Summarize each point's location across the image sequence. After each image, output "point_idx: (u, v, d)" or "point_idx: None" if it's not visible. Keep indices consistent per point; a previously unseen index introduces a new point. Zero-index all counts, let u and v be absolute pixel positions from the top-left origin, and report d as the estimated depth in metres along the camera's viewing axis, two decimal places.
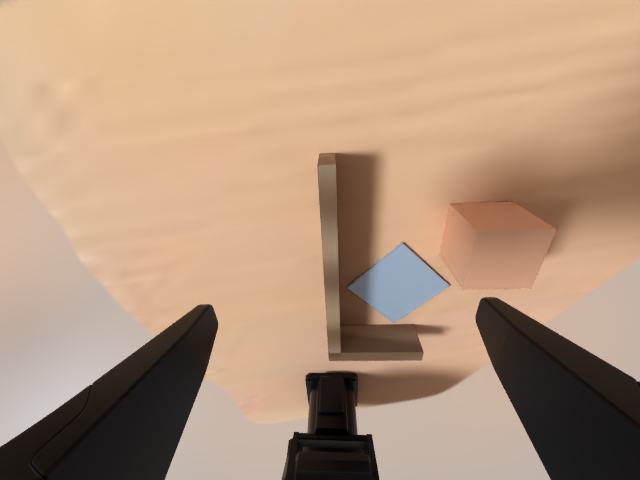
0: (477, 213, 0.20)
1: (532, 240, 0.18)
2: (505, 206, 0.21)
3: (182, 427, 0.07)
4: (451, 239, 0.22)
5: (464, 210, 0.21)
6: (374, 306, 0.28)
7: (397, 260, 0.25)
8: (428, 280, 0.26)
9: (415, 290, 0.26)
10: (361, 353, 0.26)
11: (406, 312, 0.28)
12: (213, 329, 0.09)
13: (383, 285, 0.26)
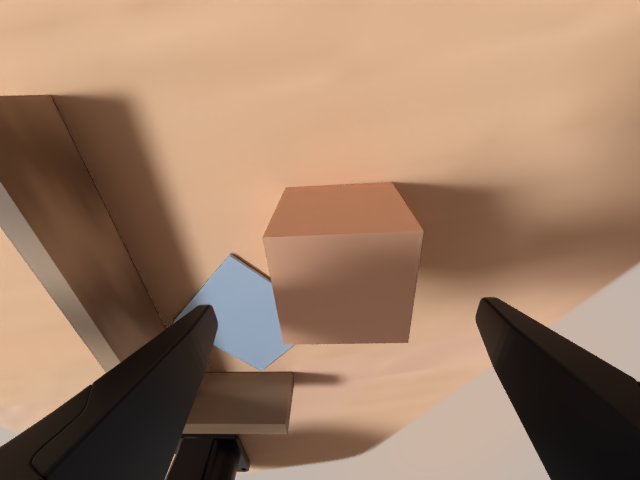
0: (308, 202, 0.11)
1: (380, 255, 0.09)
2: (370, 190, 0.12)
3: (182, 427, 0.07)
4: None
5: (294, 198, 0.11)
6: (223, 348, 0.18)
7: (231, 282, 0.15)
8: None
9: (275, 326, 0.17)
10: (192, 424, 0.17)
11: (273, 356, 0.18)
12: (213, 329, 0.09)
13: (224, 319, 0.17)
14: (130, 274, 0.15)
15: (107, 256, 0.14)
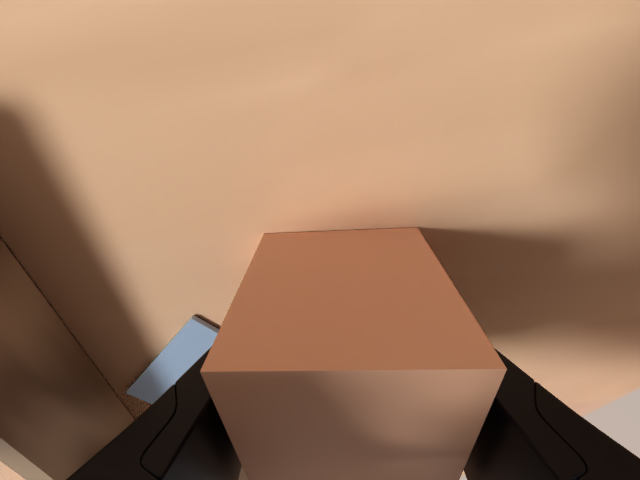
0: (294, 270, 0.07)
1: (418, 399, 0.05)
2: (389, 245, 0.08)
3: None
4: None
5: (272, 258, 0.07)
6: None
7: (196, 349, 0.12)
8: None
9: None
10: None
11: None
12: None
13: None
14: (59, 341, 0.11)
15: (17, 325, 0.10)
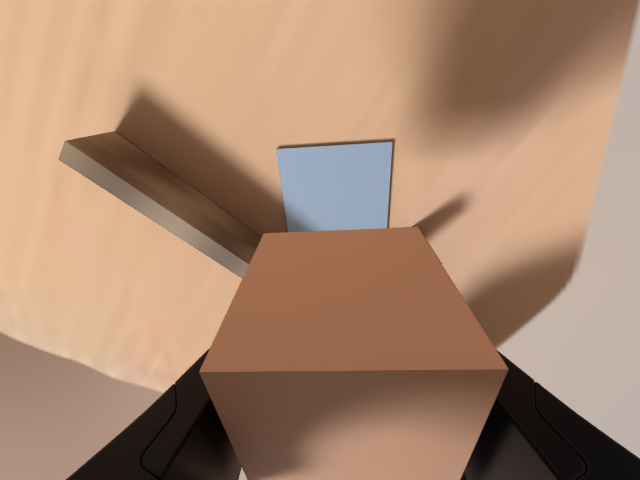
0: (294, 269, 0.07)
1: (419, 400, 0.05)
2: (389, 245, 0.08)
3: None
4: None
5: (272, 258, 0.07)
6: None
7: (296, 172, 0.17)
8: (358, 161, 0.16)
9: (359, 185, 0.17)
10: None
11: (383, 219, 0.18)
12: None
13: (319, 212, 0.18)
14: (235, 222, 0.19)
15: (210, 212, 0.17)
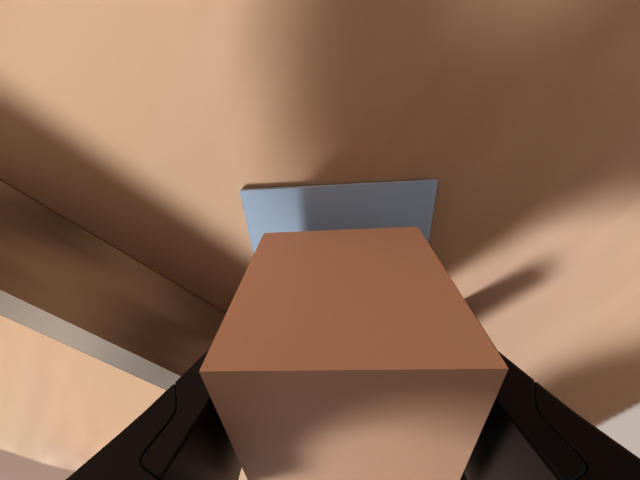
0: (294, 269, 0.07)
1: (419, 399, 0.05)
2: (389, 244, 0.08)
3: None
4: None
5: (272, 258, 0.07)
6: None
7: (274, 226, 0.10)
8: (378, 210, 0.10)
9: None
10: None
11: None
12: None
13: None
14: (182, 298, 0.12)
15: (136, 288, 0.11)
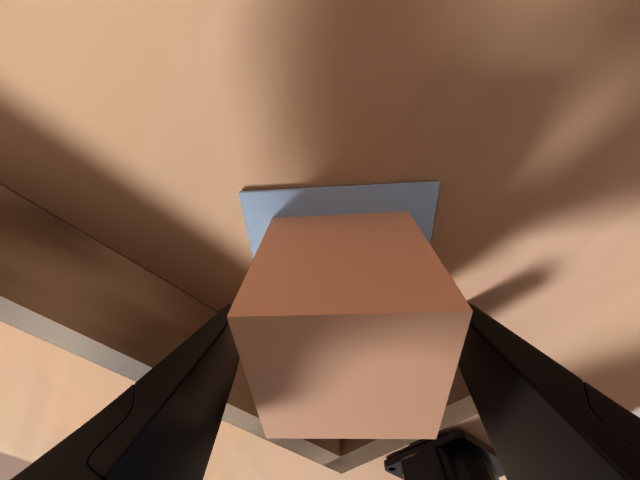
0: (300, 245, 0.08)
1: (404, 340, 0.06)
2: (383, 225, 0.09)
3: (217, 427, 0.07)
4: None
5: (280, 236, 0.09)
6: None
7: None
8: (379, 212, 0.10)
9: None
10: (376, 441, 0.11)
11: None
12: None
13: None
14: (181, 300, 0.12)
15: (134, 291, 0.11)
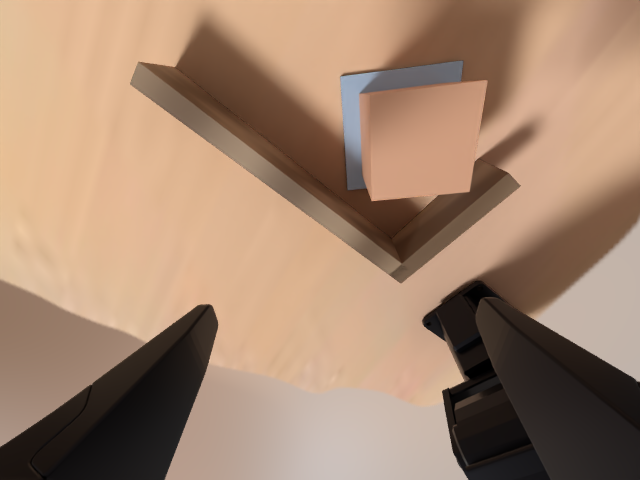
0: None
1: (454, 104, 0.12)
2: None
3: (182, 427, 0.07)
4: (363, 140, 0.16)
5: (372, 92, 0.15)
6: None
7: None
8: None
9: None
10: (426, 244, 0.17)
11: None
12: (213, 329, 0.09)
13: None
14: (293, 163, 0.18)
15: (271, 149, 0.17)
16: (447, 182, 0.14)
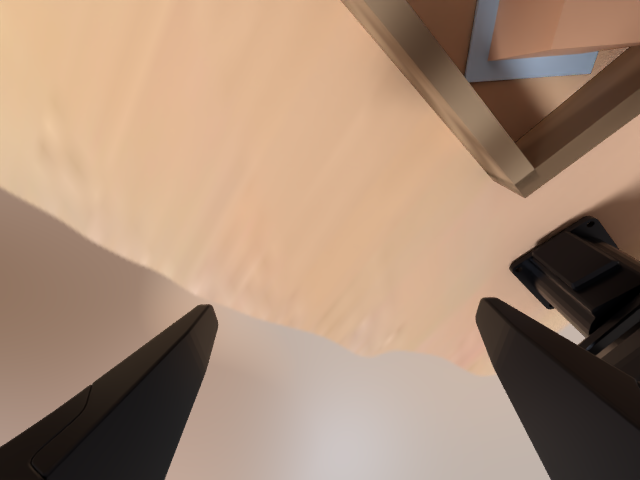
0: None
1: None
2: None
3: (182, 427, 0.07)
4: None
5: None
6: (532, 74, 0.15)
7: None
8: None
9: None
10: (573, 141, 0.14)
11: None
12: (213, 329, 0.09)
13: None
14: None
15: None
16: None
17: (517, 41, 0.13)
